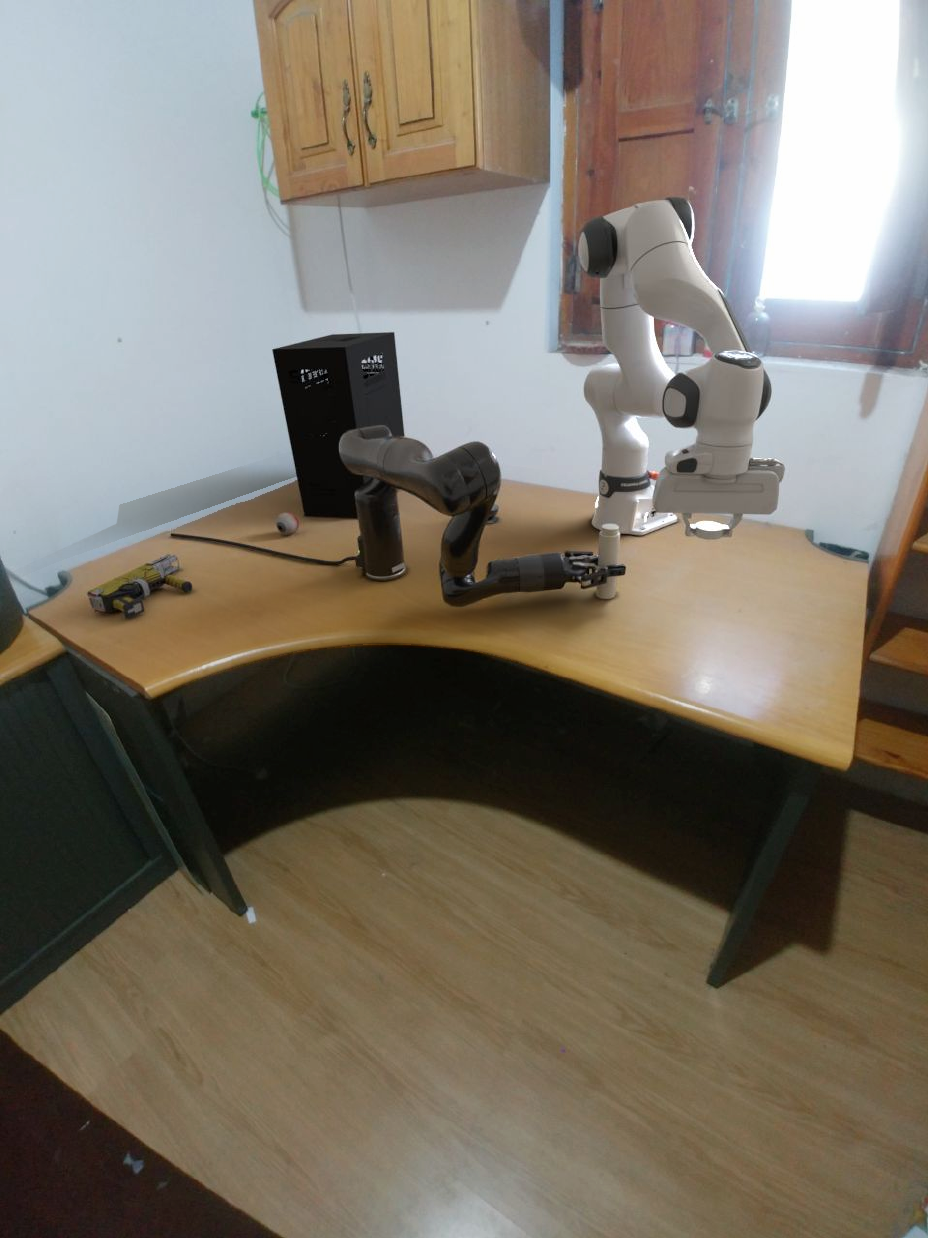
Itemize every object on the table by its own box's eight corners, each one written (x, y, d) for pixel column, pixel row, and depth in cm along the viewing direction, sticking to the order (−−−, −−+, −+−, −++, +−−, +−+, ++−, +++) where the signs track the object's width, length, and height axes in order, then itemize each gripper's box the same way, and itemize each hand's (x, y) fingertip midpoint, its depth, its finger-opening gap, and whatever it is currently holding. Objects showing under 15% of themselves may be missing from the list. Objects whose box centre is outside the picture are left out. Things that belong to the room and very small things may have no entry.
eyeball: (273, 537, 164) (268, 516, 161) (287, 528, 169) (282, 508, 166) (291, 539, 161) (286, 518, 158) (305, 530, 166) (301, 510, 163)
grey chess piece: (497, 523, 164) (496, 480, 158) (476, 523, 165) (474, 480, 159) (501, 516, 168) (500, 473, 162) (480, 515, 170) (478, 473, 164)
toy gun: (216, 562, 143) (165, 551, 147) (137, 606, 123) (80, 592, 127) (219, 580, 145) (169, 569, 149) (142, 626, 125) (86, 611, 129)
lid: (699, 527, 110) (700, 518, 109) (726, 533, 107) (728, 524, 107) (688, 536, 107) (690, 527, 106) (717, 542, 104) (718, 533, 103)
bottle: (612, 600, 124) (618, 531, 116) (593, 597, 125) (597, 528, 118) (617, 591, 127) (622, 523, 119) (598, 589, 128) (602, 521, 121)
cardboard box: (368, 517, 173) (345, 346, 150) (304, 515, 177) (272, 349, 155) (408, 478, 204) (394, 331, 182) (353, 477, 209) (332, 334, 186)
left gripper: (547, 570, 114) (635, 562, 115) (531, 542, 126) (610, 534, 127) (546, 605, 117) (631, 596, 119) (530, 574, 130) (608, 566, 131)
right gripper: (781, 453, 102) (764, 530, 109) (656, 453, 105) (647, 528, 112) (793, 463, 96) (774, 544, 103) (660, 463, 99) (650, 541, 106)
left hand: (620, 564), depth 123 cm, fingers closed on bottle, 4 cm apart
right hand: (707, 535), depth 107 cm, fingers closed on lid, 5 cm apart
